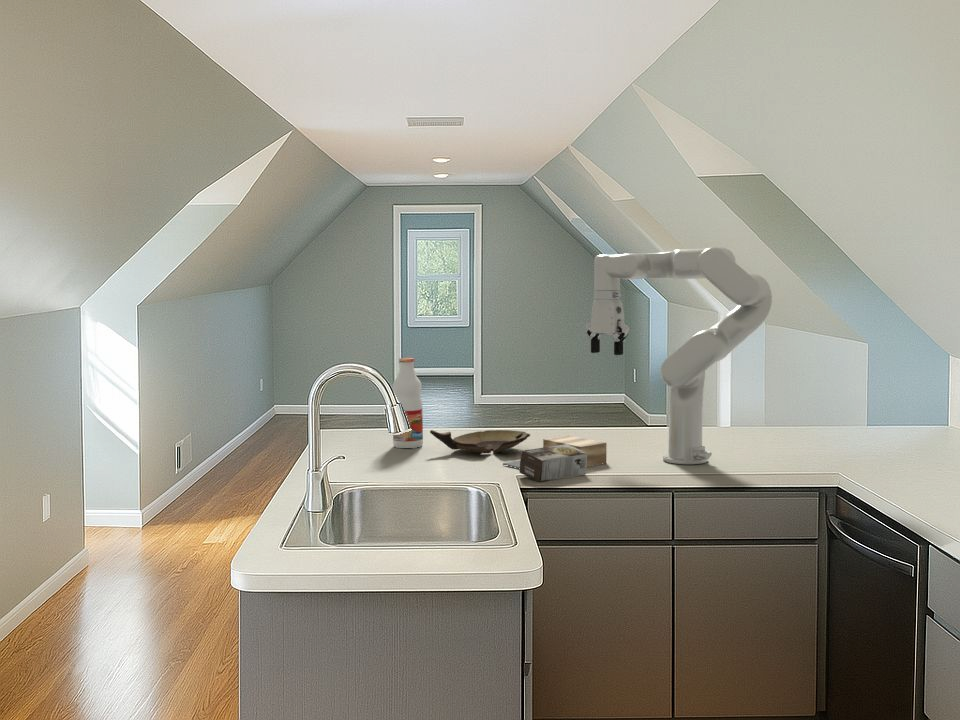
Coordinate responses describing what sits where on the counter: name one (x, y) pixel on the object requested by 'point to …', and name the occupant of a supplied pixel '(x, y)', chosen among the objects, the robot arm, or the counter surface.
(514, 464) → the rubber mat
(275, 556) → the counter surface
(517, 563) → the counter surface
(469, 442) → the brown shallow curved piece
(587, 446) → the oak step
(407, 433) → the fruit juice
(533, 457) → the coffee box
